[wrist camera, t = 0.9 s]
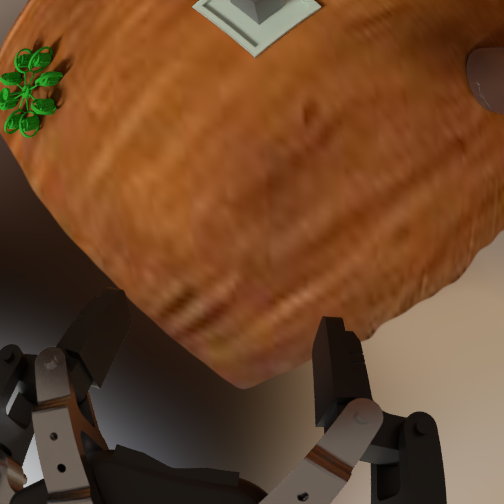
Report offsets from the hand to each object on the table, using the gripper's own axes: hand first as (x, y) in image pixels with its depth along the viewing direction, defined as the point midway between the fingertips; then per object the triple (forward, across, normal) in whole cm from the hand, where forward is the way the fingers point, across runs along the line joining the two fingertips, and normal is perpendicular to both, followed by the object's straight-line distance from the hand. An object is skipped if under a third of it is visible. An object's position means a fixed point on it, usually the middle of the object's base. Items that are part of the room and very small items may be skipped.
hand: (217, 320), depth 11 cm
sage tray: (+25, +2, -20) cm, 32 cm away
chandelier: (+25, +35, -12) cm, 45 cm away
